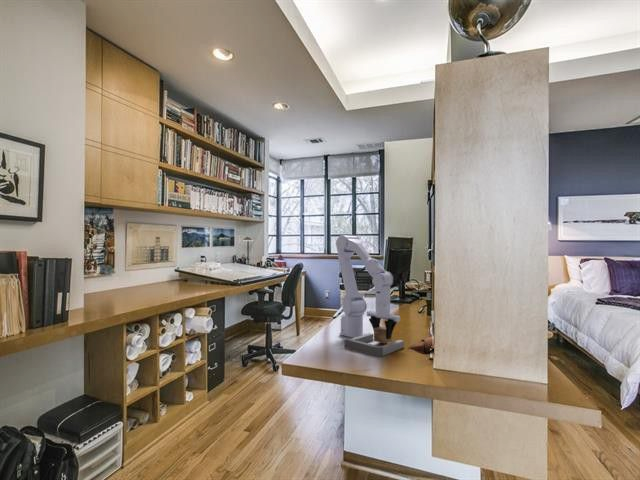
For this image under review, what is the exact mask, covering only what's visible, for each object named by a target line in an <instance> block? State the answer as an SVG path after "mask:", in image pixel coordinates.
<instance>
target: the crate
mask: <svg viewBox="0 0 640 480" xmlns="http://www.w3.org/2000/svg"><path fill="white" fill-rule="evenodd" d="M392 336H393V335H392ZM392 336H391V339H387V337H386V326H384V325H383V326H382V325H380V327H376V328H374V330H373V341H374V342H376V343H381V344H384V345H386V344H389V343H391V342H393V341H392V340H393V339H392V338H393V337H392Z"/></svg>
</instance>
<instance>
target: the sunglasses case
mask: <svg viewBox="0 0 640 480" xmlns="http://www.w3.org/2000/svg"><path fill="white" fill-rule="evenodd" d="M431 346H432V336H429V337H425V338H423V339H421V340H420V341H417V342H415V343H413V344H411V345H409V346H408V347H407V350H412V351H414V350H415V352H418V351H419V352H418V353H421V352H423V353H422V354H424V353H425V354H427V353H429V352H430V351H429V350H430V348H431Z"/></svg>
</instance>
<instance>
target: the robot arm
mask: <svg viewBox="0 0 640 480" xmlns="http://www.w3.org/2000/svg"><path fill="white" fill-rule="evenodd" d="M335 247H336V251H337V257H338V262H339V268H340V272H341V276H342V277H341V278H342V282H343V286H344V291H345V295H344V296H343V297H342V298H341V300H342V308H341V309H342V312H343V314H342V315H341V317H340V332H339V335H340V336H345V337H347V338H355V337H358V336H361V335H365V334H366V333H364V331H363V330H364V329H363V328H364V315H365V312H366V317H370V318H369V319H368V321H369V323H370V324H371V327H372V330H373V331H374V328H376V327H380V326H381V320H382V319H383V320H385V321H384V324H385V325H384V327H386V337H387V339H391V336H393V332H394V329H395V326H396V325H397V323H399V322H401V316H400V315H396V314H393V313H391V286H392V285H393V284H394V276H393V274H392V272H390V271H387V270H385V268H384V267H383V266H382V265H381V264H380V262H379V261H380V260H378V259H376V258H373V257H372V256H371V255H370V254H369V252H368V251H367V249H366V248H365V246H364V245H363V240H361V238H360V237H359V236H358V235H345V234H341V235H339V236H338V237H337V240H336V242H335ZM354 254H356V255H357V256H358V257H359V258H360V259H361V261H362V262H363V263H364V265H363V266H364V269H365V270H366V271H367V273H368V274H369V275H370V277H371V278H372V279H371V281H372V285H373V286H374V291H375V311H372V310H368V311H367V309H368V305H367V302H366V300H365V299H364V298H365V297H364V295H363V294H362V293H361V292H359V291H358V290H359V289H358V285H357V281H356V277H355V272H354V268H353V263H352V259H351V257H352V256H353V255H354Z"/></svg>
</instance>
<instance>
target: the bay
mask: <svg viewBox="0 0 640 480" xmlns="http://www.w3.org/2000/svg"><path fill="white" fill-rule="evenodd" d="M364 334H365V335H361V336H358V337H355V338H352V337H347V338H344V342H343V343H344V344H343V345H344V348H346V349H350V350H353V351H357V352H359V353H360V352H361V353H363V354H367V355H371V356H374V357H378V358H381V357H383V356H386V355H388V354H391V353H393V352H395V351H399V350H401V349H403V348H404V344H405V343H404V340H401V339H398V340H394V341H391V342H388V343H385V344H384V345H381V346H380V345H376V344H372V343H369V342H372V341H374V333H371V332H368V333H364Z"/></svg>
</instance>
